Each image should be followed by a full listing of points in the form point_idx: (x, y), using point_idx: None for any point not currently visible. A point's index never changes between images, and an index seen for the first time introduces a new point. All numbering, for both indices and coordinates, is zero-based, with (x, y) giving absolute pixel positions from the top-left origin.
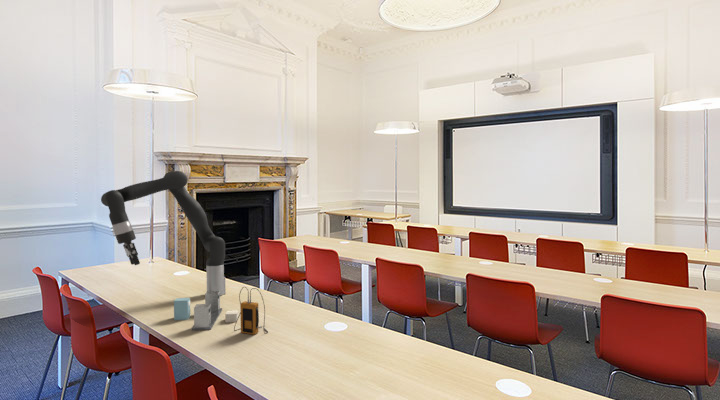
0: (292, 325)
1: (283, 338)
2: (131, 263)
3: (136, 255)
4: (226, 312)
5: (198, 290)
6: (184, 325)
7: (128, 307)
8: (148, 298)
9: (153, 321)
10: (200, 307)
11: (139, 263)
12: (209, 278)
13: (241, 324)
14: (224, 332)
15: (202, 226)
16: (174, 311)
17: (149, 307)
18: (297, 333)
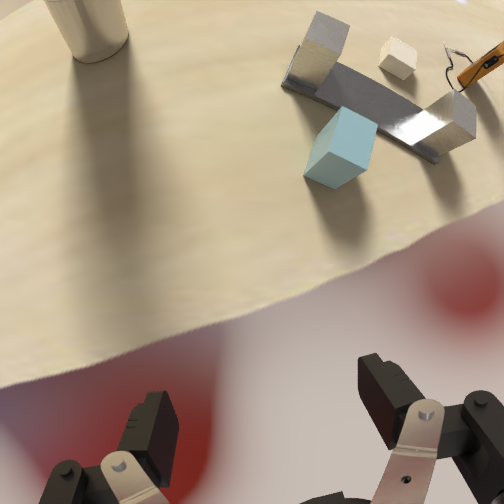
0: (441, 14)
1: None
2: (176, 431)
3: (462, 406)
4: (403, 61)
5: (14, 92)
6: (394, 171)
7: (85, 340)
8: (6, 263)
9: (317, 256)
10: (475, 123)
11: (374, 355)
12: (96, 10)
13: (476, 80)
14: None
15: None
16: (348, 180)
17: (121, 264)
18: (472, 33)
